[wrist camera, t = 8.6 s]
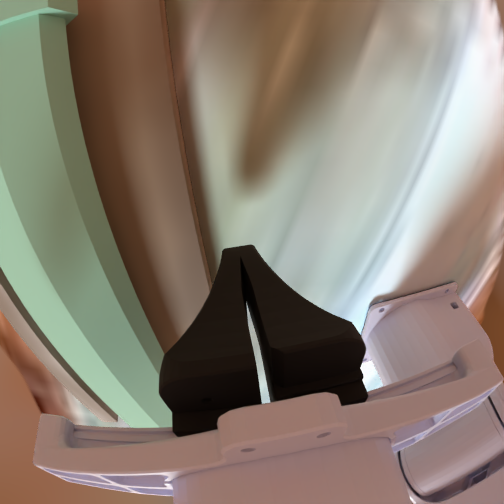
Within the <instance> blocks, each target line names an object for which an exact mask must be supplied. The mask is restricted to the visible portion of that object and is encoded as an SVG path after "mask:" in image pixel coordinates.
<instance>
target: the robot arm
mask: <svg viewBox="0 0 504 504" xmlns="http://www.w3.org/2000/svg"><path fill="white" fill-rule="evenodd" d="M457 288H458V284H457V283H456V282H453V283H449V284H446V285H443V286H440V287H436V288H433V289H429V290H426V291H423V292H419V293H416V294H412V295H408V296H405V297H401V298H397V299H393V300H390V301H386V302H382V303H378V304H374V305H372V306H371V307H370V309H369V311H368V315H367V319H366V322H365V326H364V329H363V332H362V336H361V335H360V334H359V332H358V331H357V329H356V328H355V326H354V325H353V324H352V322H350V321H347V320H345V319H342V318H340V317H338V316H335V315H333V314H331V313H329V312H327V311H325V310H323V309H321V308H319V307H318V306H316V305H314V304H313V303H311V302H309V301H308V300H306V299H305V298H303V297H302V296H301V295H299V294H298V293H297V292H295V291H294V290H293V289H292V288H290V287H289V286H288V285H287V284H286V283H285V282H284V281H283V280H282V279H281V278H280V277H279V276H278V275H277V274H276V273H275V272H274V271H273V270H272V269H271V268H270V267H269V266H268V264H267V263H266V262H265V261H264V260H263V258H262V257H261V256H260V254H259V253H258V251H257V250H256V248H255V246H253V245H245V246H239V247H232V248H226V249H224V250H223V251H222V258H221V263H220V266H219V270H218V273H217V276H216V279H215V281H214V284H213V286H212V288H211V291H210V293H209V295H208V297H207V299H206V301H205V303H204V305H203V307H202V308H201V310H200V312H199V313H198V315H197V316H196V318H195V319H194V321H193V322H192V324H191V325H190V326H189V328H188V329H187V330H186V331H185V333H184V334H183V335H182V336H181V338H180V339H179V340H178V341H177V342H176V343H175V344H174V345H173V346H172V347H171V348H170V349H169V350H168V351H167V352H166V353H165V354H164V357H163V360H162V364H161V369H160V374H159V395H160V397H161V398H162V400H163V401H164V403H165V404H166V405H167V406H168V408H169V409H170V410H171V412H172V427H160V428H118V427H96V426H83V425H74V424H73V423H72V422H71V421H70V420H69V419H67V418H65V417H63V416H59V415H50V414H41V415H40V420H39V426H38V431H37V437H36V444H35V450H34V457H33V464H34V465H35V466H37V467H39V468H41V469H43V470H45V471H47V472H49V473H51V474H53V475H55V476H57V477H60V478H62V479H64V480H66V481H69V482H74V483H78V484H83V485H89V486H94V487H100V488H106V489H111V490H117V491H125V492H131V493H140V494H150V495H162V496H173V499H174V500H173V501H174V504H412V503H411V501H412V502H413V503H414V504H504V384H503V382H502V381H503V377H502V375H501V373H500V372H499V370H498V368H497V367H496V365H495V363H494V362H493V350H492V345H491V343H490V340H489V338H488V336H487V334H486V333H485V331H484V330H483V329H482V327H481V326H480V324H479V323H478V321H477V320H476V319H475V317H474V316H473V315H472V313H471V312H470V311H469V309H468V308H467V307H466V305H465V304H464V303H463V301H462V300H461V299H460V298H459V296H458V295H457V294H456V293H455V292H456V290H457ZM246 302H247V305H248V308H249V312H250V315H251V318H252V322H253V325H254V328H255V332H256V335H257V338H258V342H259V346H260V350H261V355H262V360H263V366H264V371H265V376H266V381H267V386H268V391H269V397H270V402H271V403H265V404H262V402H261V395H260V388H259V381H258V373H257V367H256V361H255V356H254V351H253V346H252V342H251V337H250V332H249V327H248V319H247V305H246ZM371 360H372V362H373V364H374V366H375V368H376V370H377V372H378V375H379V377H380V379H381V381H382V383H383V387H381V388H378V389H375V390H372V391H368V392H367V391H366V388H365V386H364V384H363V381H362V379H363V374H362V371H361V369H360V367H361V364H362V363H364V362H367V361H371Z"/></svg>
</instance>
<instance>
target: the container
mask: <svg viewBox="0 0 504 504" xmlns="http://www.w3.org/2000/svg"><path fill="white" fill-rule="evenodd" d="M77 15H78V2H77V0H0V267H1V269H2V270H3V272H4V274H5V276H6V277H7V279H8V281H9V282H10V284H11V286H12V287H13V289H14V291H15V292H16V294H17V295H18V297H19V298H20V300H21V302H22V303H23V305H24V306H25V308H26V309H27V311H28V312H29V313H30V315H31V316H32V318H33V319H34V321H35V322H36V323H37V325H38V326H39V327H40V329H41V330H42V332H43V333H44V334H45V336H46V337H47V338H48V339H49V341H50V342H51V343H52V345H53V346H54V347H55V348H56V350H57V351H58V352H59V353H60V354H61V356H62V357H63V358H64V359H65V360H66V362H67V363H68V364H69V365H70V366H71V367H72V369H73V370H74V371H75V372H76V373H77V374H78V375H79V376H80V378H81V379H82V380H83V381H84V382H85V383H86V384H87V385H88V386H89V387H90V388H91V389H92V390H93V391H94V392H95V393H96V394H97V395H98V396H99V397H100V398H101V399H102V400H103V401H104V402H105V403H106V404H107V405H108V406H109V407H110V408H111V409H112V410H113V411H114V412H115V413H116V414H117V415H118V416H119V417H120V418H121V419H123V420H124V421H125V422H126V423H127V424H128V425H129V426H130V427H132V428H160V427H172V412H171V410H170V409H169V408H168V406H167V405H166V404H165V403H164V401H163V400H162V398H161V397H160V395H159V374H160V369H161V364H162V360H163V357H164V352H163V350H162V348H161V346H160V344H159V342H158V340H157V338H156V336H155V334H154V332H153V330H152V328H151V326H150V324H149V322H148V319H147V317H146V315H145V313H144V311H143V308H142V306H141V304H140V302H139V299H138V297H137V295H136V293H135V290H134V288H133V286H132V283H131V281H130V278H129V276H128V273H127V271H126V268H125V266H124V263H123V261H122V258H121V256H120V253H119V250H118V248H117V245H116V242H115V240H114V237H113V234H112V231H111V228H110V225H109V223H108V220H107V217H106V214H105V211H104V208H103V204H102V201H101V198H100V195H99V192H98V188H97V185H96V182H95V178H94V175H93V171H92V167H91V164H90V160H89V156H88V152H87V148H86V144H85V140H84V136H83V132H82V127H81V123H80V118H79V113H78V109H77V103H76V98H75V93H74V87H73V81H72V75H71V68H70V60H69V53H68V44H67V34H66V25H67V24H68V23H70V22H71V21H72V20H73V19H74V18H75V17H76V16H77Z"/></svg>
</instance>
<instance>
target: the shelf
mask: <svg viewBox="0 0 504 504" xmlns="http://www.w3.org/2000/svg"><path fill="white" fill-rule="evenodd" d="M77 2H78V15H77V16H76V17H75V18H74V19H73V20H72V21H71V22H70V23H68V24H67V25H66V34H67V44H68V53H69V60H70V68H71V75H72V81H73V87H74V93H75V98H76V103H77V109H78V113H79V118H80V123H81V127H82V132H83V136H84V140H85V144H86V148H87V152H88V156H89V160H90V164H91V167H92V171H93V175H94V178H95V182H96V185H97V188H98V192H99V195H100V198H101V201H102V204H103V208H104V211H105V214H106V217H107V220H108V223H109V225H110V228H111V231H112V234H113V237H114V240H115V242H116V245H117V248H118V250H119V253H120V256H121V258H122V261H123V263H124V266H125V268H126V271H127V273H128V276H129V278H130V281H131V283H132V286H133V288H134V290H135V293H136V295H137V297H138V299H139V302H140V304H141V306H142V308H143V311H144V313H145V315H146V317H147V319H148V322H149V324H150V326H151V328H152V330H153V332H154V334H155V336H156V338H157V340H158V342H159V344H160V346H161V348H162V350H163V352H164V354H165V353H166V352H167V351H168V350H169V349H170V348H171V347H172V346H173V345H174V344H175V343H176V342H177V341H178V340H179V339H180V338H181V336H182V335H183V334H184V333H185V331H186V330H187V329H188V328H189V326H190V325H191V324H192V322H193V321H194V319H195V318H196V316H197V315H198V313H199V312H200V310H201V308H202V307H203V305H204V303H205V301H206V299H207V297H208V295H209V293H210V291H211V288H212V282H211V277H210V273H209V268H208V264H207V259H206V255H205V250H204V245H203V241H202V236H201V231H200V226H199V221H198V216H197V211H196V206H195V201H194V196H193V191H192V185H191V180H190V175H189V169H188V163H187V158H186V152H185V146H184V140H183V134H182V128H181V122H180V116H179V109H178V103H177V96H176V89H175V82H174V75H173V68H172V60H171V52H170V44H169V36H168V27H167V18H166V8H165V0H77ZM0 310H1V311H2V313H3V314H4V316H5V317H6V318H7V320H8V321H9V323H10V324H11V325H12V327H13V328H14V329H15V331H16V332H17V333H18V334H19V336H20V337H21V338H22V340H23V341H24V342H25V343H26V344H27V346H28V347H29V348H30V349H31V351H32V352H33V353H34V354H35V355H36V356H37V358H38V359H39V360H40V361H41V362H42V363H43V364H44V365H45V367H46V368H47V369H48V370H49V371H50V372H51V373H52V374H53V375H54V376H55V377H56V378H57V379H58V380H59V381H60V383H61V384H62V385H63V386H64V387H65V388H66V389H67V390H68V391H69V392H71V393H72V394H73V395H74V396H75V397H76V398H77V399H78V400H79V401H80V402H81V403H82V404H83V405H84V406H85V407H86V408H88V409H89V410H90V411H91V412H92V413H93V414H94V415H96V416H97V417H98V418H99V419H100V420H101V421H103V422H117V421H118V415H117V414H116V413H115V412H114V411H113V410H112V409H111V408H110V407H109V406H108V405H107V404H106V403H105V402H104V401H103V400H102V399H101V398H100V397H99V396H98V395H97V394H96V393H95V392H94V391H93V390H92V389H91V388H90V387H89V386H88V385H87V384H86V383H85V382H84V381H83V380H82V379H81V378H80V376H79V375H78V374H77V373H76V372H75V371H74V370H73V369H72V367H71V366H70V365H69V364H68V363H67V362H66V360H65V359H64V358H63V357H62V356H61V354H60V353H59V352H58V351H57V350H56V348H55V347H54V346H53V345H52V343H51V342H50V341H49V339H48V338H47V337H46V336H45V334H44V333H43V332H42V330H41V329H40V327H39V326H38V325H37V323H36V322H35V321H34V319H33V318H32V316H31V315H30V313H29V312H28V311H27V309H26V308H25V306H24V305H23V303H22V302H21V300H20V298H19V297H18V295H17V294H16V292H15V291H14V289H13V287H12V286H11V284H10V282H9V281H8V279H7V277H6V276H5V274H4V272H3V270H2V269H1V267H0Z"/></svg>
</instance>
